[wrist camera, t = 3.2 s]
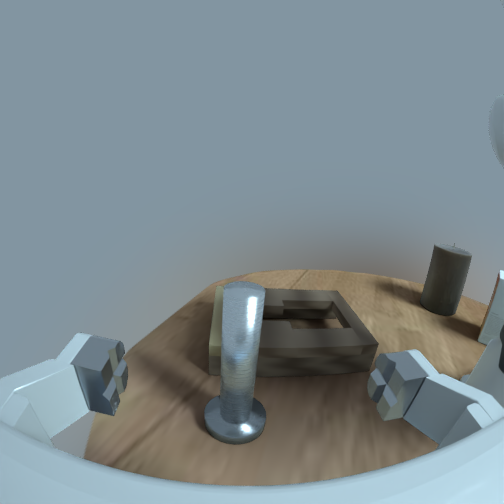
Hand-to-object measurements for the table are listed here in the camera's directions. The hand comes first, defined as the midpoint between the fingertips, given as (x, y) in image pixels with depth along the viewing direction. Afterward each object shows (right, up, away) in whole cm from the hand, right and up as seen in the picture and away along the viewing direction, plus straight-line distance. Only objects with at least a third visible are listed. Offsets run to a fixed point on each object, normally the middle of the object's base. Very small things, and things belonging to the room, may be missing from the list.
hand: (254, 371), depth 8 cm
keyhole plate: (+5, -9, +33) cm, 34 cm away
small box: (+47, -14, +30) cm, 58 cm away
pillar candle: (+42, -9, +45) cm, 63 cm away
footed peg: (-2, -13, +17) cm, 21 cm away
